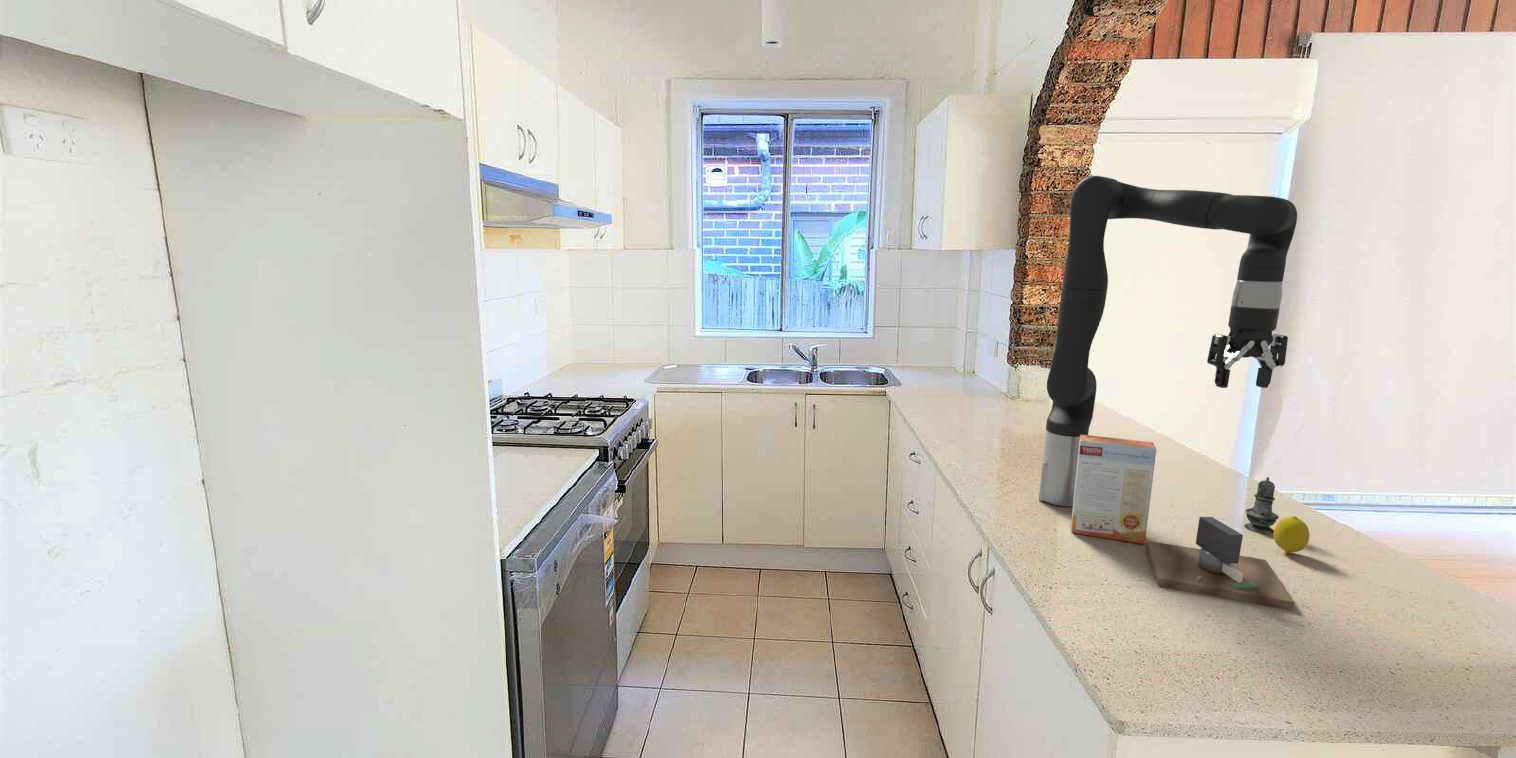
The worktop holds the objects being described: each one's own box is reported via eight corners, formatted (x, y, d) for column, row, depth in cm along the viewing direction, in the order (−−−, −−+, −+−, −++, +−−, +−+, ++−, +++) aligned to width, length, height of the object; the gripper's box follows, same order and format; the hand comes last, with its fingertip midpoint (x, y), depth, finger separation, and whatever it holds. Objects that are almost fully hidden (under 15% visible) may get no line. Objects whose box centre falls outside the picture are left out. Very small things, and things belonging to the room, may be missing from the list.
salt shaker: (1281, 535, 141) (1291, 482, 139) (1251, 533, 142) (1259, 480, 140) (1267, 524, 147) (1275, 473, 145) (1237, 522, 148) (1245, 471, 146)
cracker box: (1142, 534, 141) (1154, 440, 137) (1145, 545, 136) (1158, 448, 132) (1070, 522, 147) (1080, 432, 143) (1070, 533, 142) (1080, 439, 138)
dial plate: (1157, 585, 120) (1158, 576, 120) (1145, 547, 135) (1147, 538, 135) (1293, 610, 112) (1295, 600, 112) (1264, 566, 127) (1266, 557, 127)
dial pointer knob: (1186, 557, 127) (1192, 516, 126) (1212, 557, 127) (1218, 516, 126) (1225, 584, 117) (1232, 541, 115) (1253, 584, 117) (1260, 541, 115)
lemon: (1298, 549, 135) (1305, 513, 133) (1310, 561, 130) (1317, 523, 128) (1266, 545, 137) (1272, 509, 135) (1277, 557, 131) (1283, 519, 130)
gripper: (1236, 306, 122) (1222, 391, 126) (1307, 306, 124) (1291, 391, 127) (1206, 302, 130) (1193, 383, 133) (1273, 303, 131) (1259, 382, 134)
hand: (1241, 387), depth 130 cm, fingers open, 8 cm apart
